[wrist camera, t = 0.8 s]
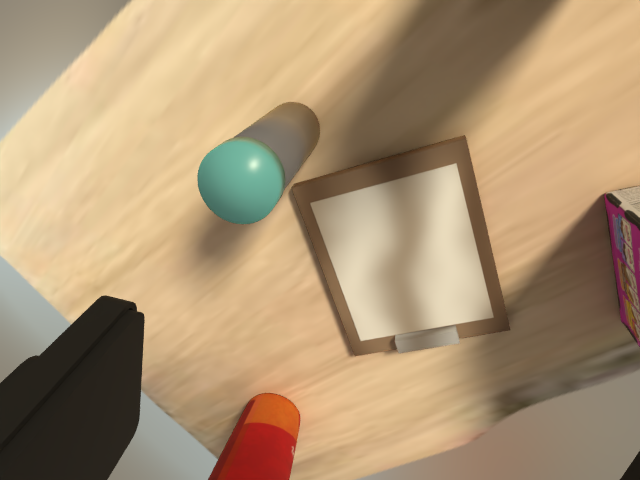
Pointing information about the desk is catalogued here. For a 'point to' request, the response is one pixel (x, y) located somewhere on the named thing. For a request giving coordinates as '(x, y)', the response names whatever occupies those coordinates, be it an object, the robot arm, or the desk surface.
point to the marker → (258, 164)
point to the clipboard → (406, 249)
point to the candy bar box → (626, 253)
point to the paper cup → (261, 441)
